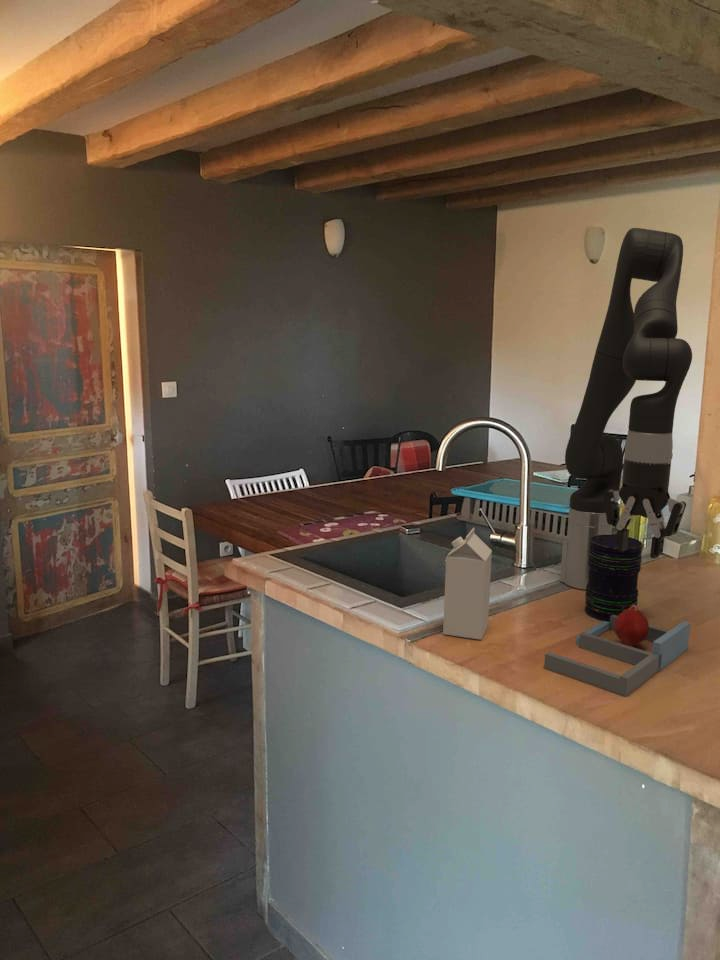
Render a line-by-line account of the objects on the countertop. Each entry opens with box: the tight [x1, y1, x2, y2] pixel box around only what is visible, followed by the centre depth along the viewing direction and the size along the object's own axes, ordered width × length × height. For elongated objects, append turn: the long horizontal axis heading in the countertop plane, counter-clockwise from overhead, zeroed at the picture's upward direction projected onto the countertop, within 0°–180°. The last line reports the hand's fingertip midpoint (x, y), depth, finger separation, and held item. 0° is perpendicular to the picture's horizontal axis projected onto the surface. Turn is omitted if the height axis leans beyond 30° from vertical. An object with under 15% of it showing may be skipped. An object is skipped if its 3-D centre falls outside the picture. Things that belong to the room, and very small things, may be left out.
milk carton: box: [442, 527, 493, 640], centre depth 141 cm, size 7×7×19 cm
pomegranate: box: [614, 605, 650, 648], centre depth 136 cm, size 6×6×8 cm
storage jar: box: [584, 534, 643, 623], centre depth 152 cm, size 10×10×15 cm
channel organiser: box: [543, 615, 691, 697], centre depth 132 cm, size 15×25×5 cm, turn 137°
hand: (638, 553), depth 134 cm, fingers open, 5 cm apart
